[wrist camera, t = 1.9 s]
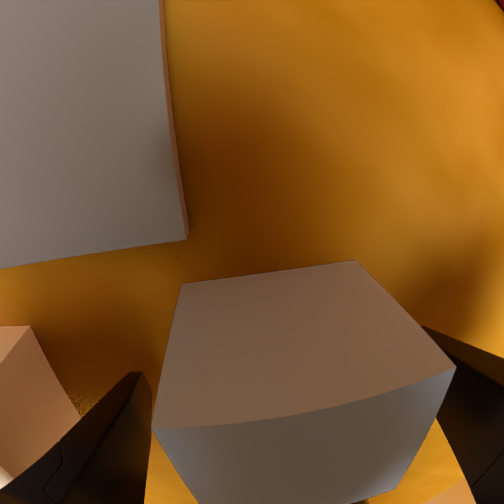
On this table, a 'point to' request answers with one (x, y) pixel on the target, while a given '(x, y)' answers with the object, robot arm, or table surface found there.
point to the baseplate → (86, 130)
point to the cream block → (28, 403)
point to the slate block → (296, 387)
